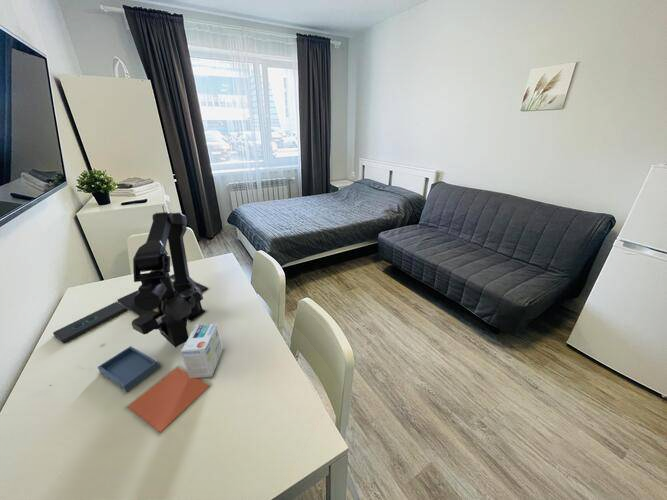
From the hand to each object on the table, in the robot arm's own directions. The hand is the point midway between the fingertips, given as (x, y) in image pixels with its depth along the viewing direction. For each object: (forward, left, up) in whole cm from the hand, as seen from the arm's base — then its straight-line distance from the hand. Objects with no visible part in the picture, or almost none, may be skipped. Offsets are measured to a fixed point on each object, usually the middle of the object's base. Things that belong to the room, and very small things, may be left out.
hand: (176, 330), depth 85 cm
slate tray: (+13, -6, -7) cm, 16 cm away
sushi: (-16, -35, -7) cm, 39 cm away
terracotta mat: (+13, +13, -7) cm, 20 cm away
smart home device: (+7, -42, -7) cm, 43 cm away
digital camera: (0, 0, -2) cm, 2 cm away
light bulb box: (+1, +13, -7) cm, 15 cm away
